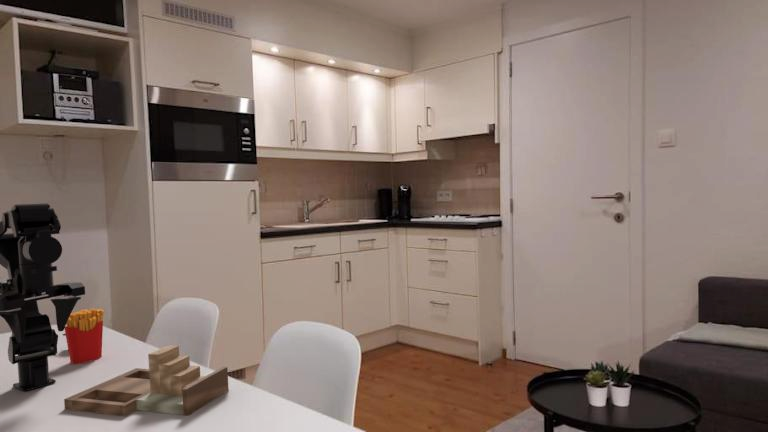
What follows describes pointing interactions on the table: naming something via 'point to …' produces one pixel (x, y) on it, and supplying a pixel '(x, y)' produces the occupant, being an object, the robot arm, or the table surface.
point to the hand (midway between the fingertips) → (41, 336)
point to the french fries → (84, 335)
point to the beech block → (171, 371)
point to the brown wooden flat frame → (147, 395)
